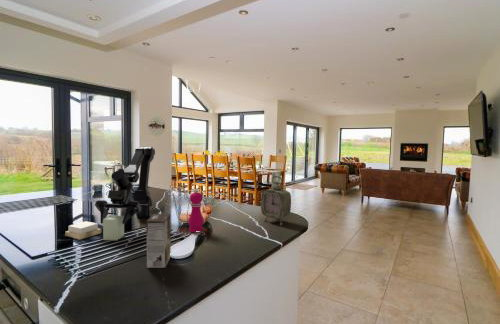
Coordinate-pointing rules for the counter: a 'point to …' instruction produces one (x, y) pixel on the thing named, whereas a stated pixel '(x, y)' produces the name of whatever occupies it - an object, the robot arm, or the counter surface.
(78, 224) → the top block
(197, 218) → the pepper mill
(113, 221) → the sage block
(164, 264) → the coffee box
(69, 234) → the bottom block
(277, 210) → the tabletop clock
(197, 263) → the counter surface
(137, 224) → the counter surface
